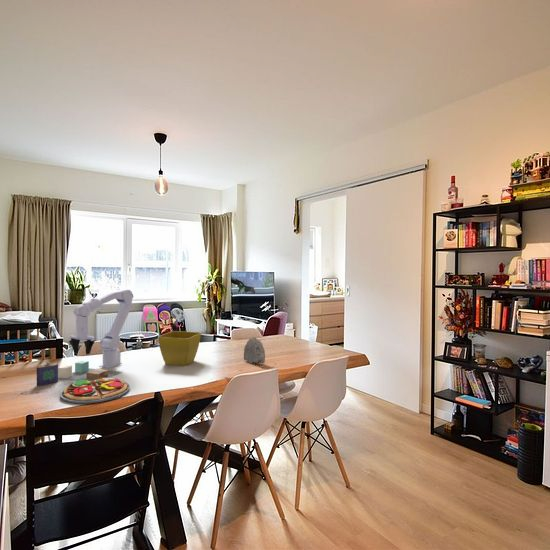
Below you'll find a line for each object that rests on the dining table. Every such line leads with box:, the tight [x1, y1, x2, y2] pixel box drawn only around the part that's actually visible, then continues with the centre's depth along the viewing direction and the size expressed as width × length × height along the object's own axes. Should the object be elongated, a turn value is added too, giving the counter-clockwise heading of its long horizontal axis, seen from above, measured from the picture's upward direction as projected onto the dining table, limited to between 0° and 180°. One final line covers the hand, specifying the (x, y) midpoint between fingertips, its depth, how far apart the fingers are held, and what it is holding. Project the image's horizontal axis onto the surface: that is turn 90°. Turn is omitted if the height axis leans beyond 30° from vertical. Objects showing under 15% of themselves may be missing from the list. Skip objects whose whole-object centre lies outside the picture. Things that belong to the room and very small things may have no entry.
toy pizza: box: [59, 377, 131, 404], centre depth 161 cm, size 28×28×4 cm
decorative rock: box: [243, 337, 266, 365], centre depth 216 cm, size 16×7×15 cm, turn 36°
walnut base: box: [86, 368, 109, 380], centre depth 182 cm, size 7×7×3 cm
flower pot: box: [157, 330, 202, 367], centre depth 214 cm, size 19×19×17 cm
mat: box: [58, 367, 123, 382], centre depth 186 cm, size 20×24×1 cm
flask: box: [36, 361, 59, 387], centre depth 172 cm, size 9×3×11 cm, turn 144°
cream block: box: [58, 365, 73, 378], centre depth 183 cm, size 4×4×5 cm
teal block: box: [74, 360, 90, 373], centre depth 192 cm, size 4×4×5 cm
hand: (82, 353), depth 192 cm, fingers open, 7 cm apart
